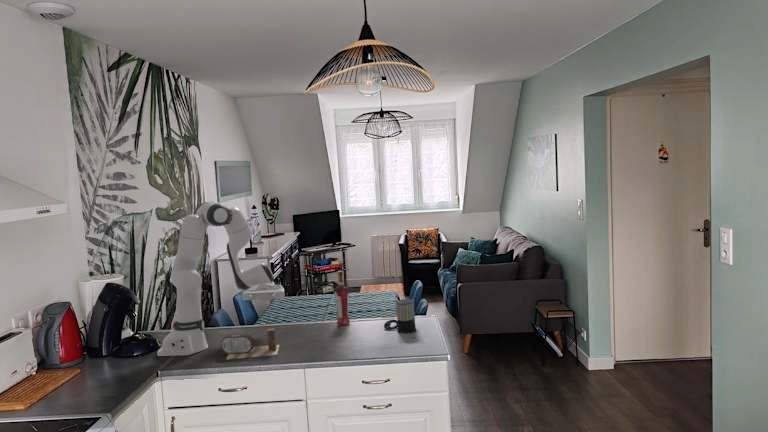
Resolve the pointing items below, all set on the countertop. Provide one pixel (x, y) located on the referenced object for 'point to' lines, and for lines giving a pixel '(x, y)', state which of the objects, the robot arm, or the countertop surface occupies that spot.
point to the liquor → (341, 301)
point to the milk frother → (403, 317)
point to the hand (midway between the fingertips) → (262, 297)
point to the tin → (237, 343)
